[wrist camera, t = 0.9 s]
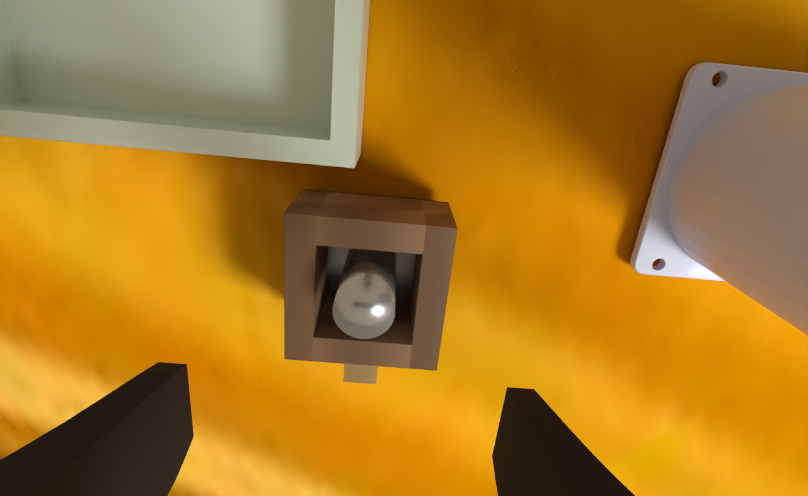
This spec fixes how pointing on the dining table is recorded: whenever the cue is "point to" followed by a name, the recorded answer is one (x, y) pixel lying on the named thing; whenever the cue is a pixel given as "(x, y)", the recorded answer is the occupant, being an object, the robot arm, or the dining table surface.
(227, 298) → the dining table surface
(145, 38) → the tray
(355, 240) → the ring
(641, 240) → the robot arm
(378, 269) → the grey piece
